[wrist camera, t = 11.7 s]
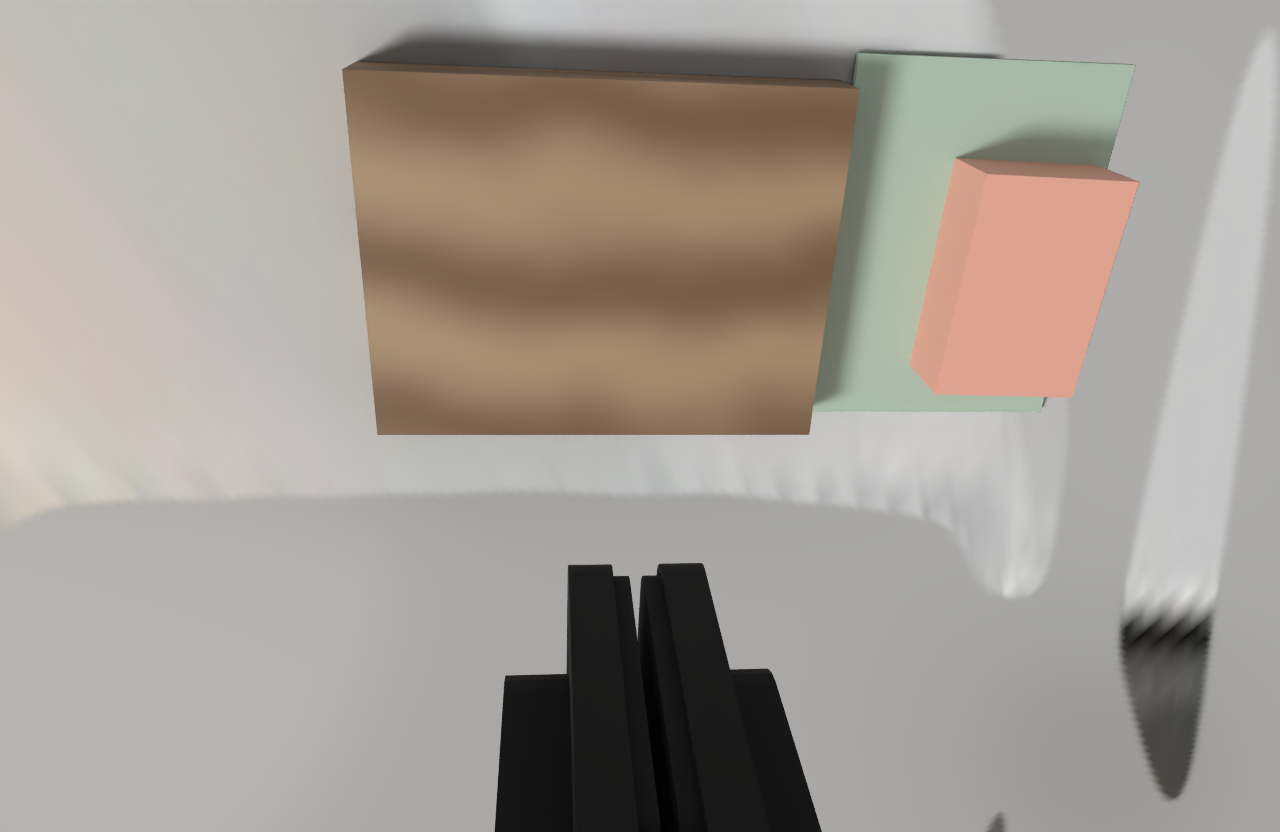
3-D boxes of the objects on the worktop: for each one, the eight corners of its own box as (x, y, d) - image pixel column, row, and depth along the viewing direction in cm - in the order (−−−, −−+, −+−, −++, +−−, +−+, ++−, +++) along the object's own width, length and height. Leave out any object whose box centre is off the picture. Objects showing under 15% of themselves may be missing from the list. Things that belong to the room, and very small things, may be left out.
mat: (856, 52, 34) (859, 53, 34) (1131, 64, 35) (1135, 65, 35) (805, 408, 41) (807, 411, 41) (1037, 409, 42) (1040, 411, 42)
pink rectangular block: (1139, 181, 34) (1096, 165, 37) (987, 174, 33) (954, 157, 36) (1072, 397, 38) (1037, 368, 41) (935, 394, 37) (909, 364, 40)
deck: (356, 61, 33) (342, 69, 31) (840, 80, 35) (859, 89, 32) (387, 407, 39) (377, 434, 37) (794, 408, 41) (809, 434, 39)
